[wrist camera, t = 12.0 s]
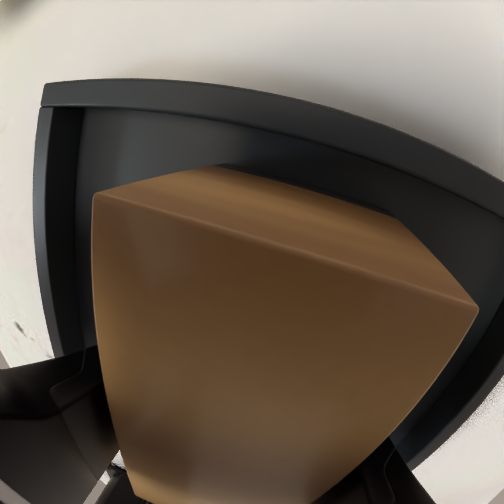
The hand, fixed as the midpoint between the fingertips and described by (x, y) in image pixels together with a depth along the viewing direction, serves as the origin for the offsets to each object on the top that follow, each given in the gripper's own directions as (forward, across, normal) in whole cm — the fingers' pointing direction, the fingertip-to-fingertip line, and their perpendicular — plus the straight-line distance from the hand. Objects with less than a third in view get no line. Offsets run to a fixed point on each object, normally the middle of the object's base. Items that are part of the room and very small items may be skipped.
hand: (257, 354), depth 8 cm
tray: (+1, 0, 0) cm, 1 cm away
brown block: (+1, 0, 0) cm, 1 cm away
